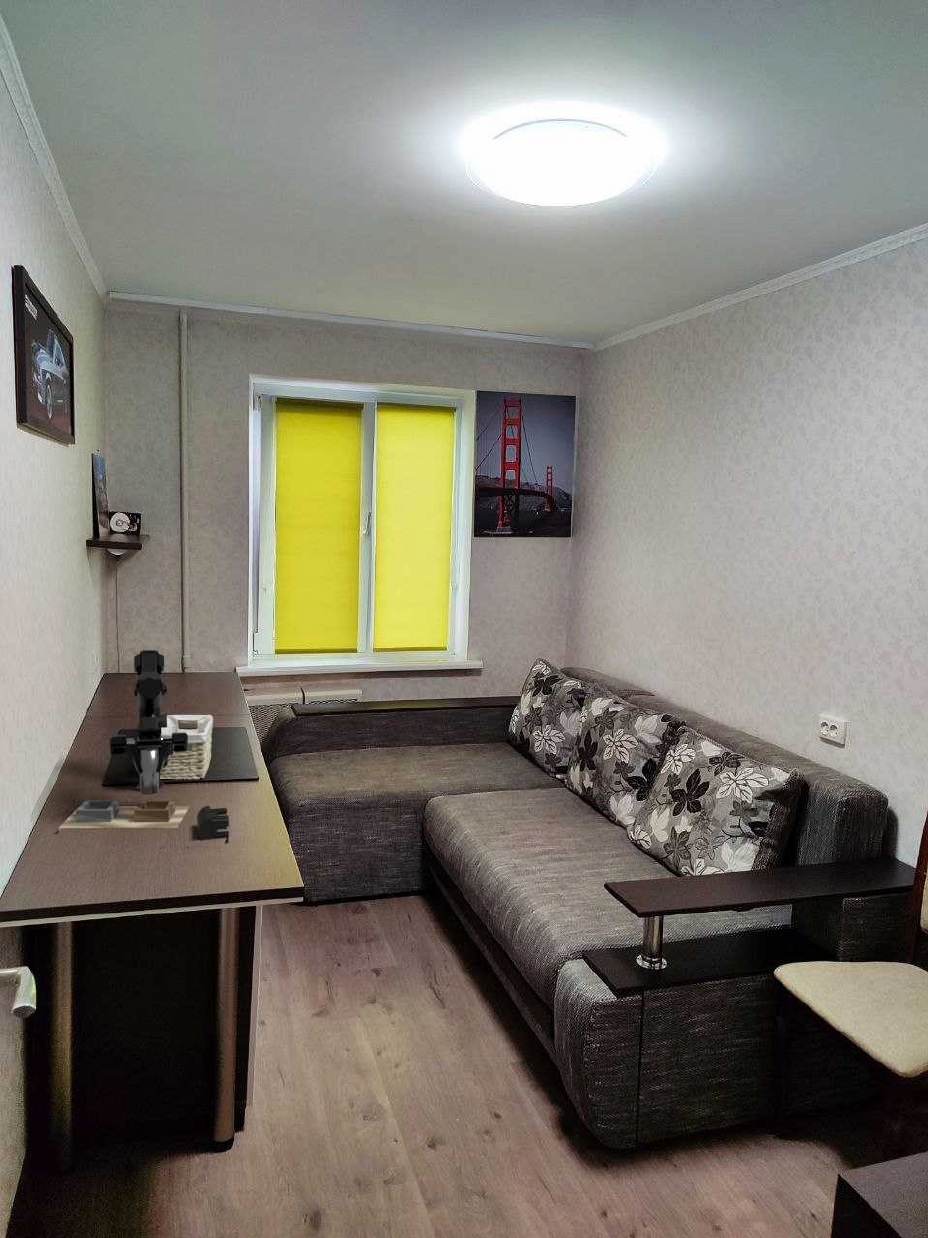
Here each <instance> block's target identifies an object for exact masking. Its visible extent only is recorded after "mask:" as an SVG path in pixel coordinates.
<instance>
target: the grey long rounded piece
mask: <svg viewBox="0 0 928 1238" xmlns="http://www.w3.org/2000/svg"><path fill="white" fill-rule="evenodd" d="M159 791H160V789H159V749H158V748H156V747H146V748H142V749H140V790H139V792H140V794H142V795H155V794H157V793H159Z"/></svg>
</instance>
